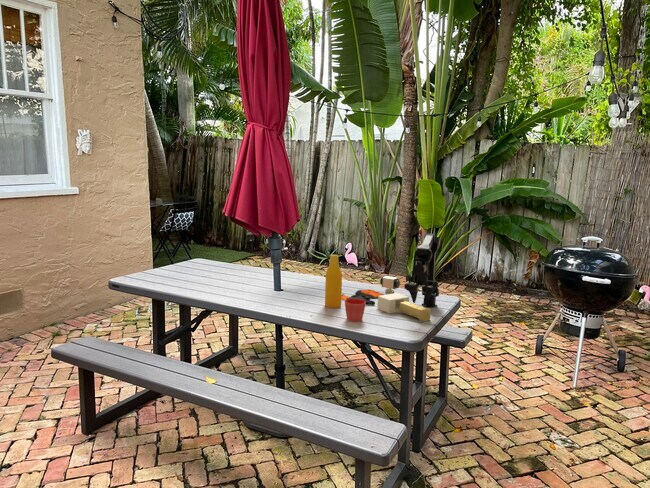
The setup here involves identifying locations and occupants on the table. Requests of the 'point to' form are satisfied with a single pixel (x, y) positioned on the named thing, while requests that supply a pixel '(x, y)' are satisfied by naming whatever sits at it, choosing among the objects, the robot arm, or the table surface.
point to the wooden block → (415, 311)
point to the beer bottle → (333, 283)
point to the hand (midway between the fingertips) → (420, 301)
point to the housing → (391, 302)
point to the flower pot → (354, 309)
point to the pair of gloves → (364, 296)
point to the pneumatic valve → (389, 284)
